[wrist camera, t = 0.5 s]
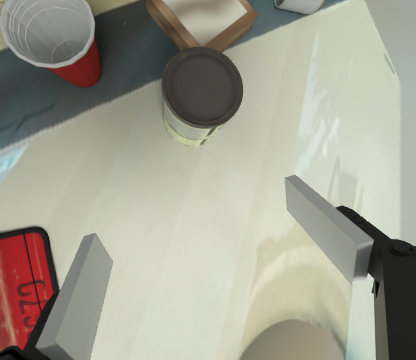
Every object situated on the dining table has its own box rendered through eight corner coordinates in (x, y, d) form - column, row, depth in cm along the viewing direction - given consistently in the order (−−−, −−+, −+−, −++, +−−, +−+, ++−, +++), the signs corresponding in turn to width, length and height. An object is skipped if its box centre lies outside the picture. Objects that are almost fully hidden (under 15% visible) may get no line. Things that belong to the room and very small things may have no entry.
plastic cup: (42, 40, 38) (-12, -26, 27) (111, 39, 40) (89, -22, 29) (50, 104, 38) (-1, 67, 26) (119, 100, 40) (100, 64, 28)
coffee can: (169, 85, 42) (171, 34, 28) (223, 101, 44) (250, 60, 30) (157, 139, 41) (153, 115, 27) (212, 153, 43) (234, 136, 29)
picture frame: (146, 10, 42) (144, -10, 37) (203, -30, 44) (207, -53, 40) (197, 71, 43) (201, 59, 39) (250, 30, 45) (258, 13, 41)
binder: (-53, 398, 33) (-83, 252, 33) (-39, 384, 35) (-68, 248, 35) (70, 355, 36) (43, 224, 36) (75, 345, 38) (49, 222, 39)
